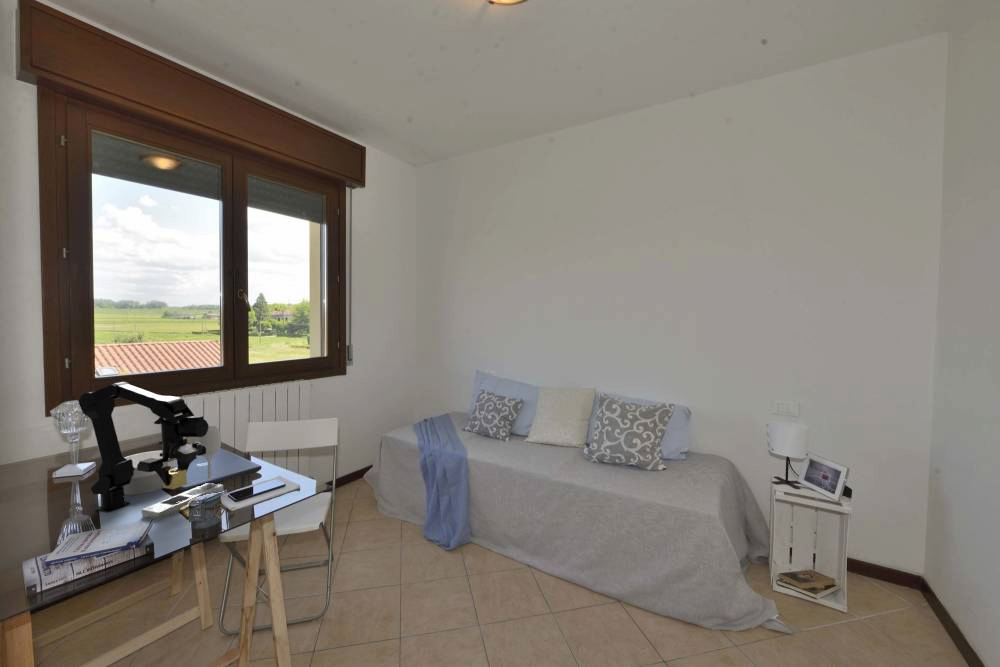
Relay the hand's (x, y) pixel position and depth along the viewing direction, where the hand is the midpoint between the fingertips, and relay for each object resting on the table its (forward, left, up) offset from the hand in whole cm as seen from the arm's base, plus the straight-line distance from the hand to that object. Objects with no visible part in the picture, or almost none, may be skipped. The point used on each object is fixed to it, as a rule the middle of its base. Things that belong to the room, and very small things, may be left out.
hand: (174, 482), depth 143 cm
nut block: (0, 0, -1) cm, 1 cm away
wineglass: (-9, +19, -9) cm, 23 cm away
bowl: (-28, +9, -9) cm, 31 cm away
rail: (0, +3, -8) cm, 9 cm away
